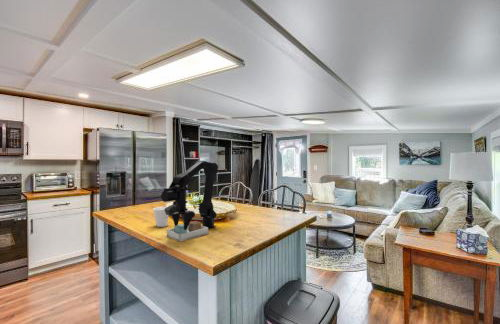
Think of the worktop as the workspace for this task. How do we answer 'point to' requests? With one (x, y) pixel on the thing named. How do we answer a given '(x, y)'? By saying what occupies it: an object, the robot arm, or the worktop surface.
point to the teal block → (180, 229)
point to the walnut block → (194, 226)
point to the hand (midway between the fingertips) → (180, 228)
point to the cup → (160, 216)
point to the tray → (187, 234)
